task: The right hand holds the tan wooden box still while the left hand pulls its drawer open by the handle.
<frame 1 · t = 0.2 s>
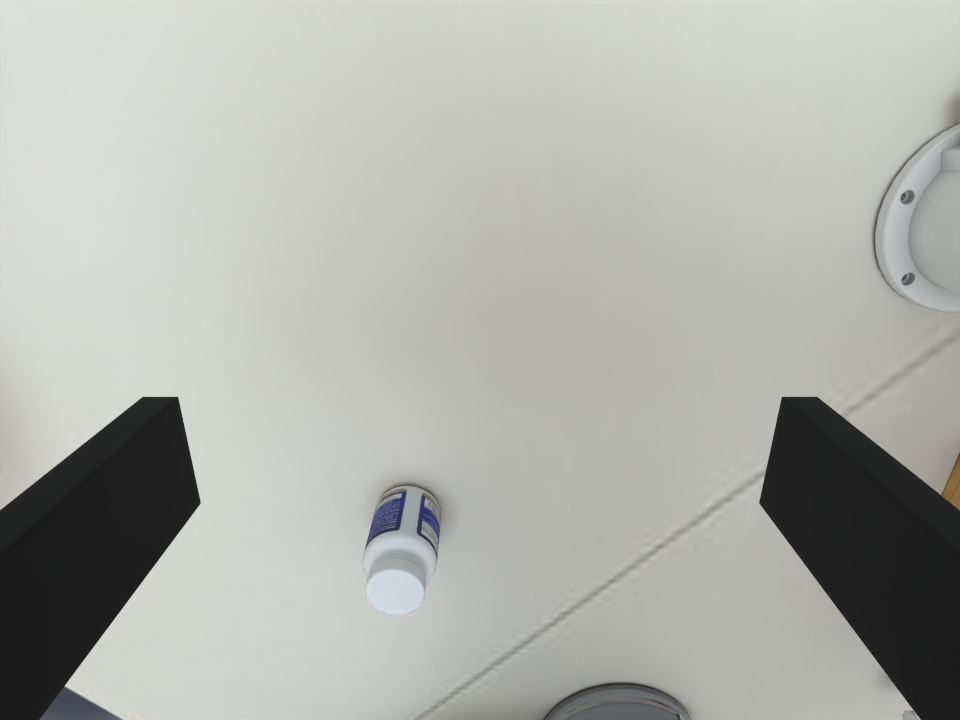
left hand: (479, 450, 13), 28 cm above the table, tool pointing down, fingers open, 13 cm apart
pill bottle: (409, 509, 47), on the table
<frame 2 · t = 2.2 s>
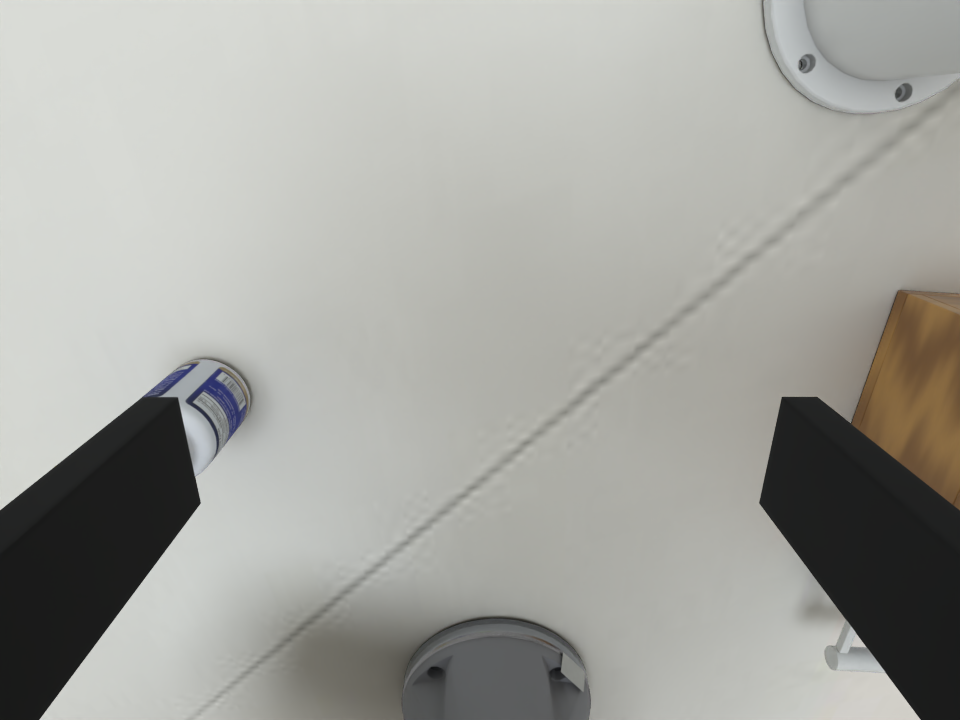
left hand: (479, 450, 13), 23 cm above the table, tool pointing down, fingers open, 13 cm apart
drawer: (918, 538, 36), point 5 cm above the table, slide at 0.5 cm
pill bottle: (213, 393, 38), on the table
tan wooden box: (892, 431, 39), on the table
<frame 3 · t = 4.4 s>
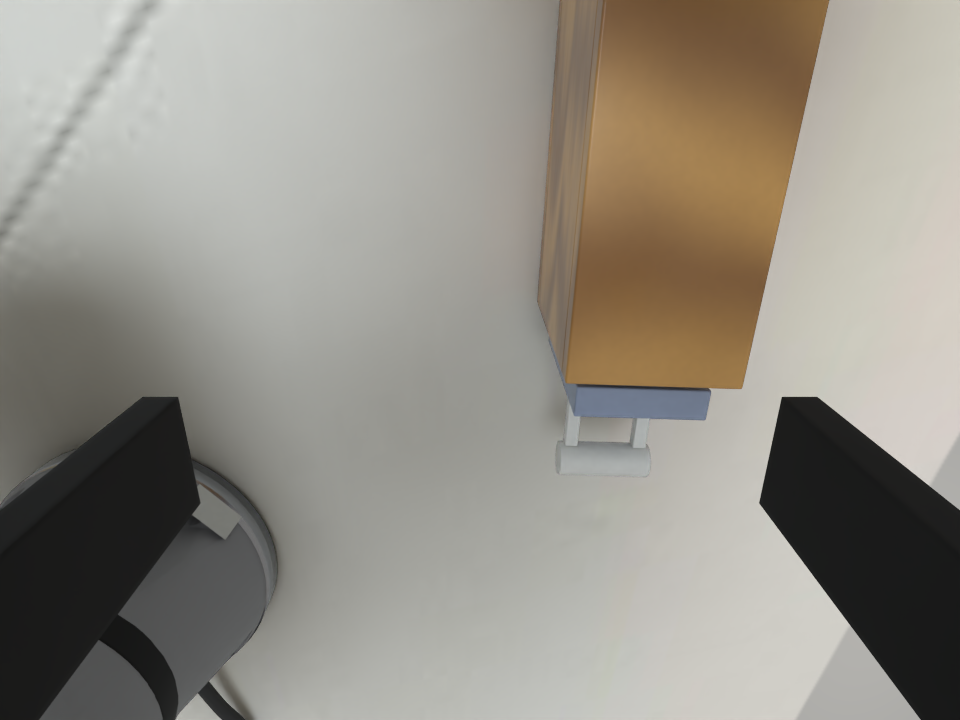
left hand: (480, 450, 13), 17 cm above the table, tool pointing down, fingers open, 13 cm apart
drawer: (636, 220, 22), point 5 cm above the table, slide at 0.5 cm
tan wooden box: (622, 89, 25), on the table, touching right hand
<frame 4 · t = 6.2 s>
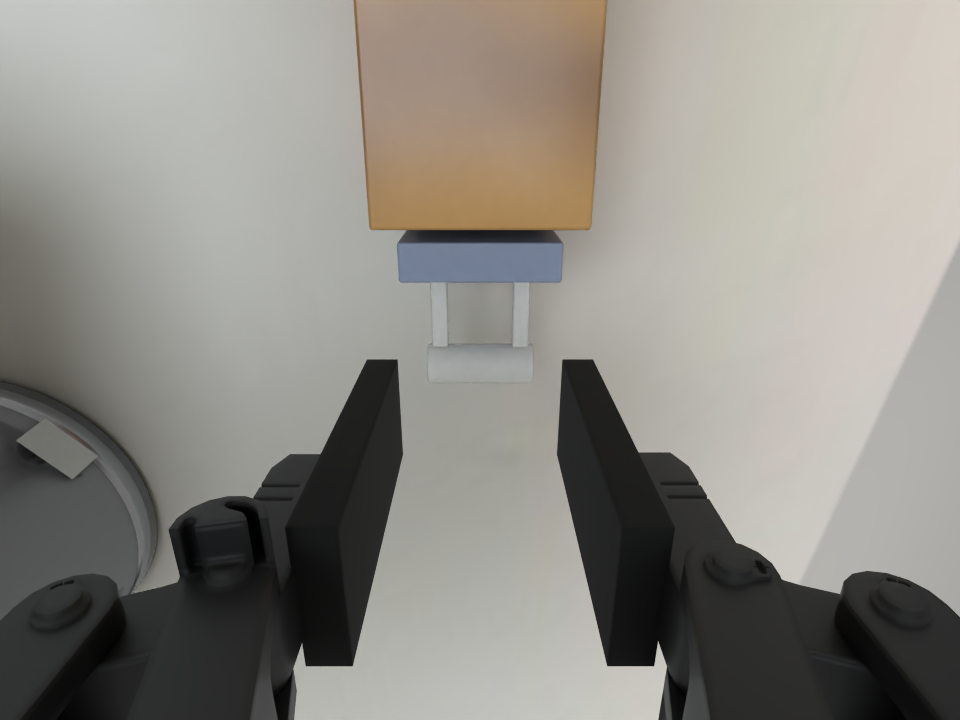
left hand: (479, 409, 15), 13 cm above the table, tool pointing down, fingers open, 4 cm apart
drawer: (480, 52, 19), point 5 cm above the table, slide at 0.5 cm
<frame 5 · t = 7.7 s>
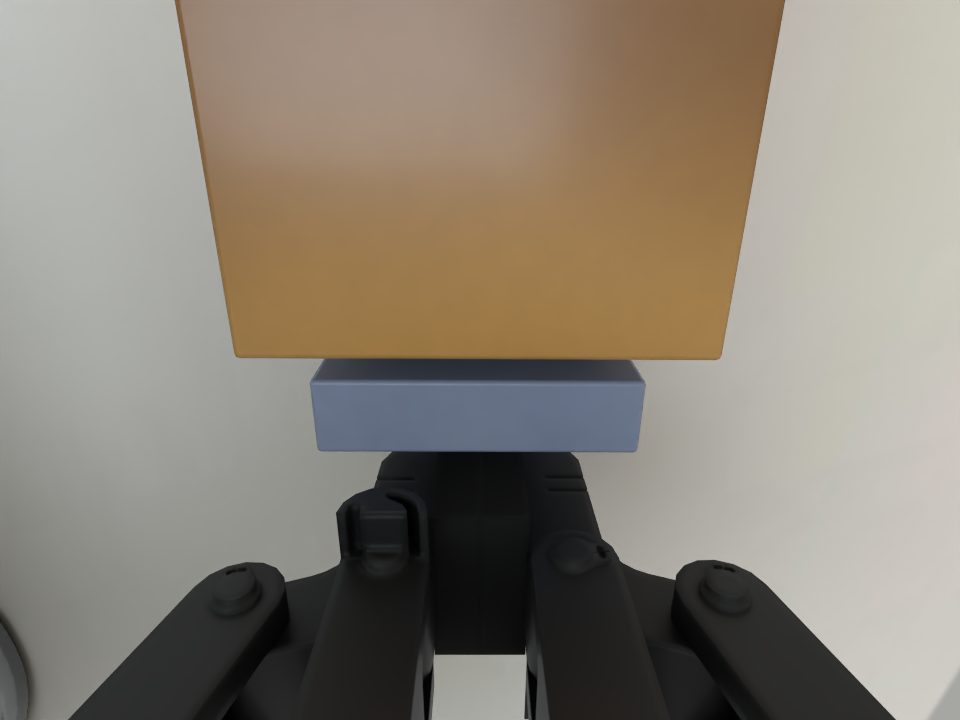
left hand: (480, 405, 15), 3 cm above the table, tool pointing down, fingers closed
drawer: (479, 0, 10), point 5 cm above the table, slide at 0.7 cm, touching left hand
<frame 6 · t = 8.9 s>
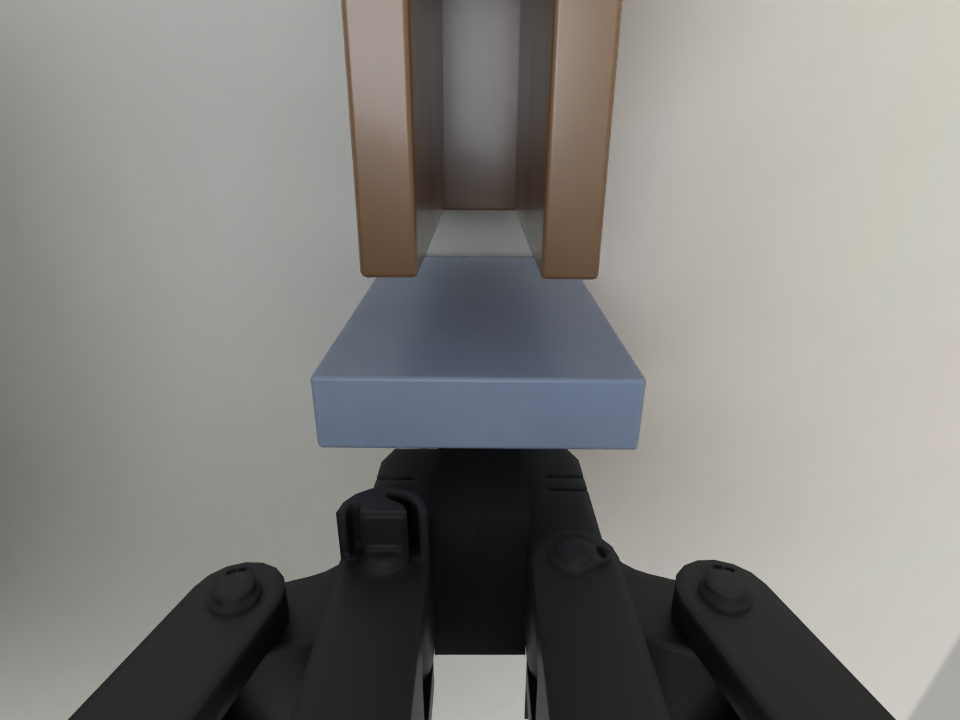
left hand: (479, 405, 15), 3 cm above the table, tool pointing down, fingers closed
when the right hand's fingers open (7 cm above the table, at t = 10.9 s): tan wooden box stays where it is, on the table.
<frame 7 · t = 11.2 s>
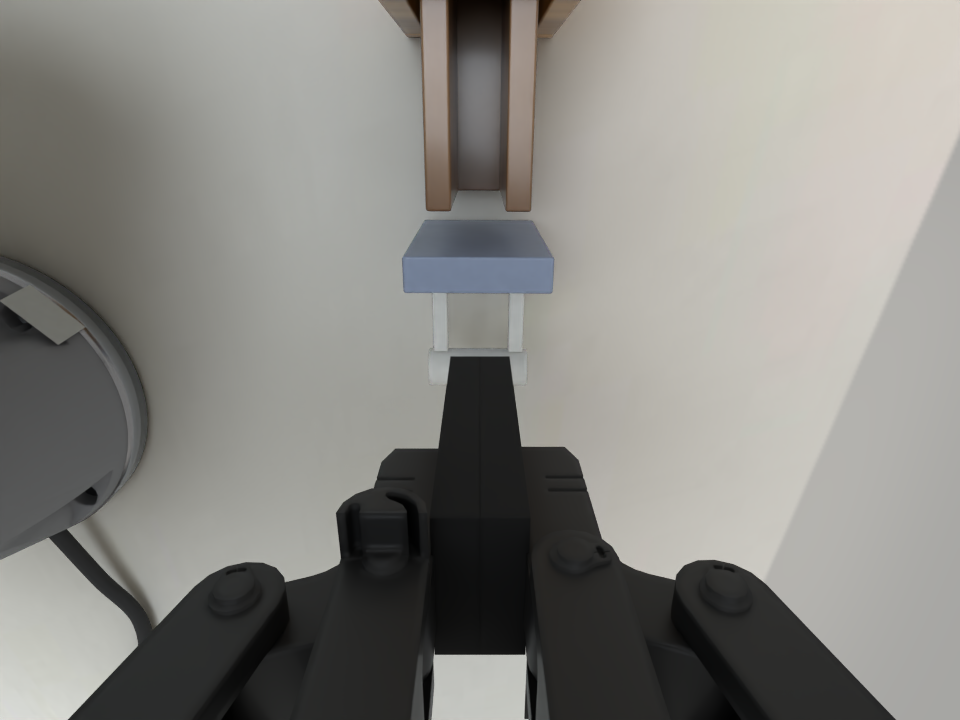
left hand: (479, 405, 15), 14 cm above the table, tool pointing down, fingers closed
drawer: (479, 80, 20), point 5 cm above the table, slide at 7.3 cm
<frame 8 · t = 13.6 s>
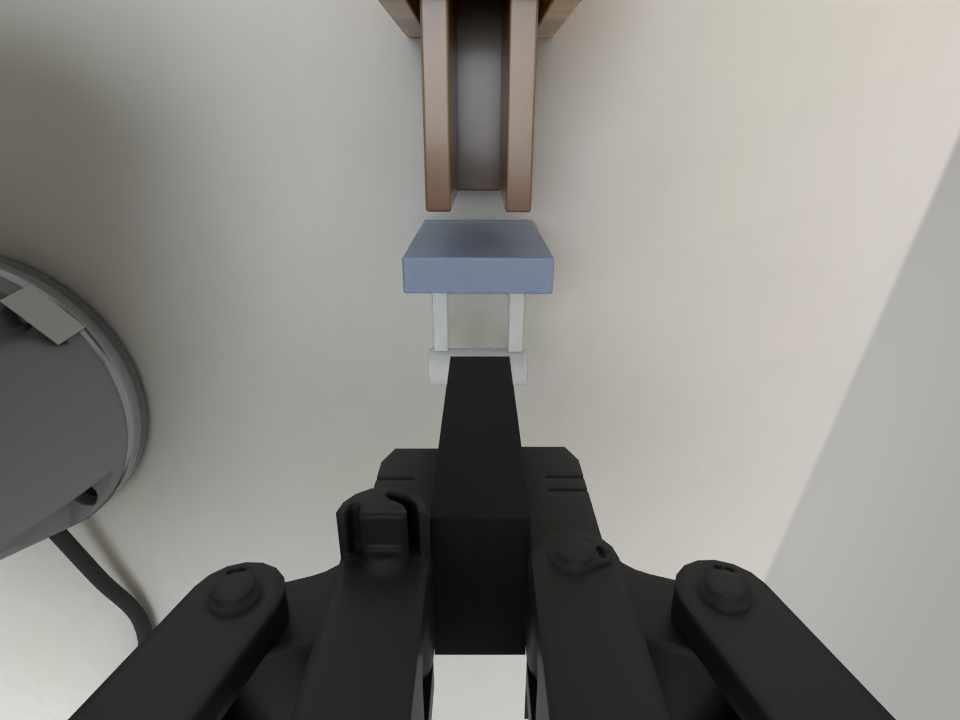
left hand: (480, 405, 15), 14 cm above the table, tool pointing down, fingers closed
drawer: (479, 81, 20), point 5 cm above the table, slide at 7.3 cm
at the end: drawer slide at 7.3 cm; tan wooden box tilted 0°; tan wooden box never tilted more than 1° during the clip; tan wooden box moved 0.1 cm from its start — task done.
